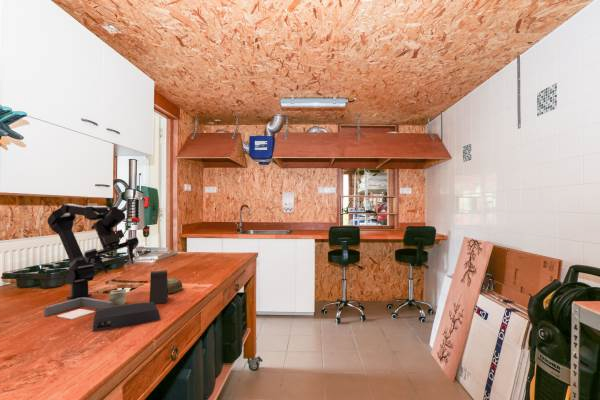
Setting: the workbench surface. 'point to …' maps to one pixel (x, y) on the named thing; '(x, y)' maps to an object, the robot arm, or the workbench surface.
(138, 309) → the external hard drive
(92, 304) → the l-shaped corner bracket
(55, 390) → the workbench surface
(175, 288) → the weight
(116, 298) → the cube
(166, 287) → the phone stand
